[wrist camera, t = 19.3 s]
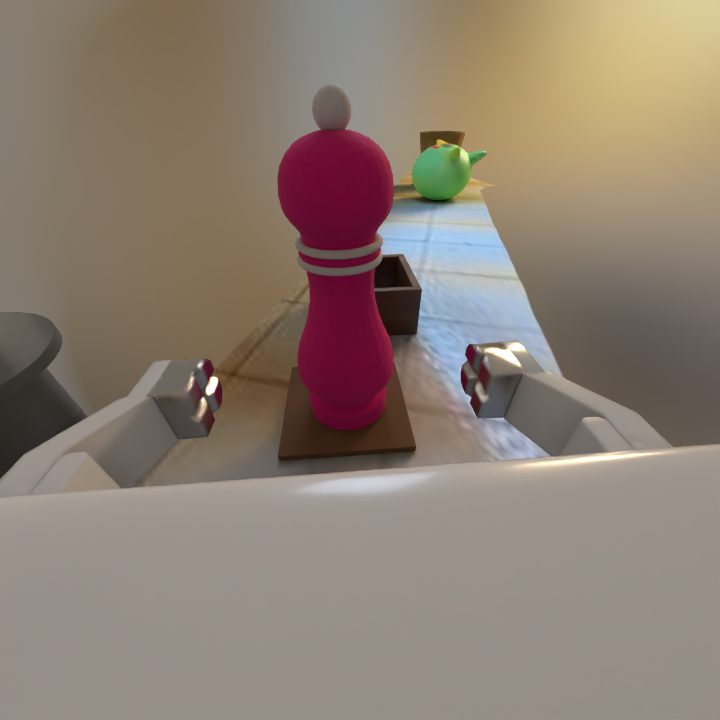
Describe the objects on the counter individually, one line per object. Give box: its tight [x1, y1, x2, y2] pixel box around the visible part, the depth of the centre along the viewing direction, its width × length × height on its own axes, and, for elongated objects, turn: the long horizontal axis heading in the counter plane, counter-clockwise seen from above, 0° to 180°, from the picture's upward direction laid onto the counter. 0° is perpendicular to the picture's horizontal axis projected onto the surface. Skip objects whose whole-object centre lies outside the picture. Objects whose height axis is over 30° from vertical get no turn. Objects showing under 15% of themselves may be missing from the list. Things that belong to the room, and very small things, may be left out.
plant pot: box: [420, 131, 465, 153], centre depth 108 cm, size 15×15×16 cm
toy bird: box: [412, 140, 487, 200], centre depth 88 cm, size 18×17×15 cm
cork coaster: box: [278, 363, 416, 460], centre depth 26 cm, size 10×10×1 cm
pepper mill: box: [278, 84, 394, 431], centre depth 20 cm, size 7×7×20 cm
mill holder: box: [374, 254, 422, 335], centre depth 37 cm, size 11×11×6 cm
